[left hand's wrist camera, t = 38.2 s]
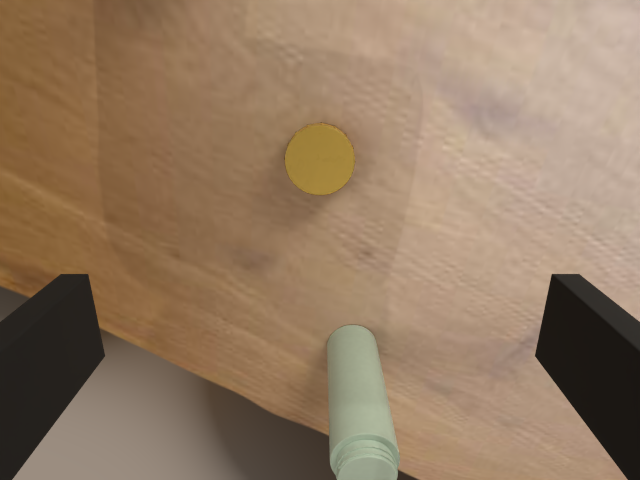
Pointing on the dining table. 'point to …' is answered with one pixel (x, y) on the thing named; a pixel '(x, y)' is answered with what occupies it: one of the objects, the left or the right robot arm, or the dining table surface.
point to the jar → (359, 409)
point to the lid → (319, 159)
